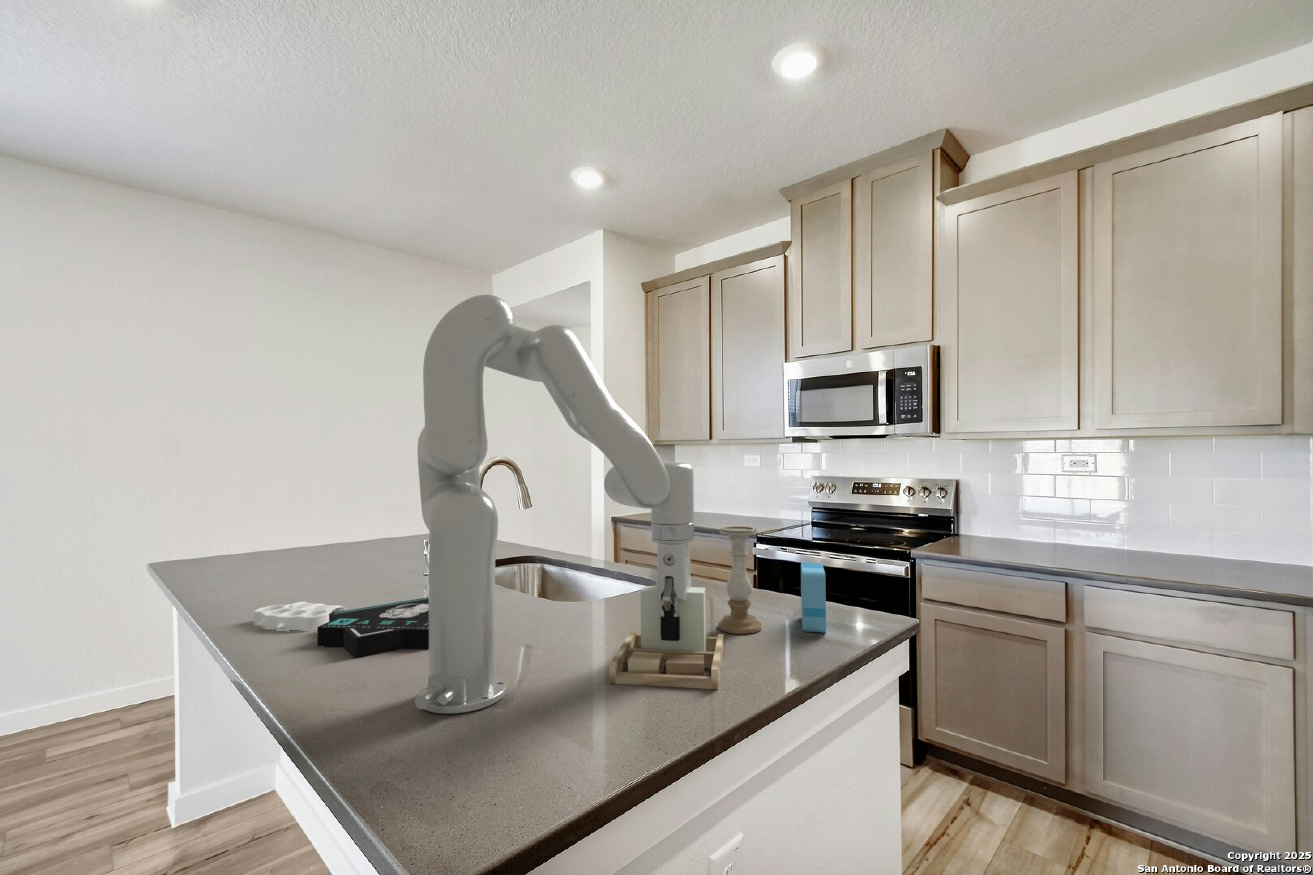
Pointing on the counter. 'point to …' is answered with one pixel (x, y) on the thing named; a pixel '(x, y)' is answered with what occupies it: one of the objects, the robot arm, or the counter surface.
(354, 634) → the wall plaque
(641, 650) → the oak rack
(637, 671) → the pine offcut
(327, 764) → the counter surface
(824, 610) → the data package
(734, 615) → the candle holder
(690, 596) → the sage panel
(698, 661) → the walnut offcut
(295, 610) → the white dimpled disc
